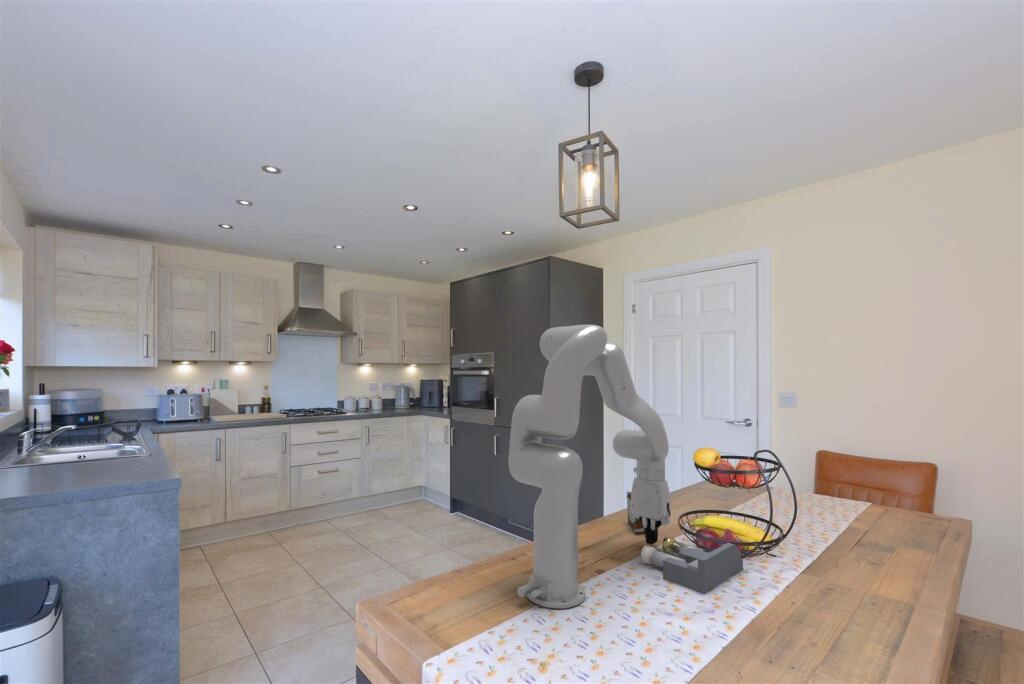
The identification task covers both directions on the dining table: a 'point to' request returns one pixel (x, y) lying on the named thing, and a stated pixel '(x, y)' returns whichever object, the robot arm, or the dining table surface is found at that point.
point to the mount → (703, 567)
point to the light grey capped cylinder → (655, 556)
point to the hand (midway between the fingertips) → (651, 542)
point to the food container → (633, 519)
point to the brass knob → (675, 546)
